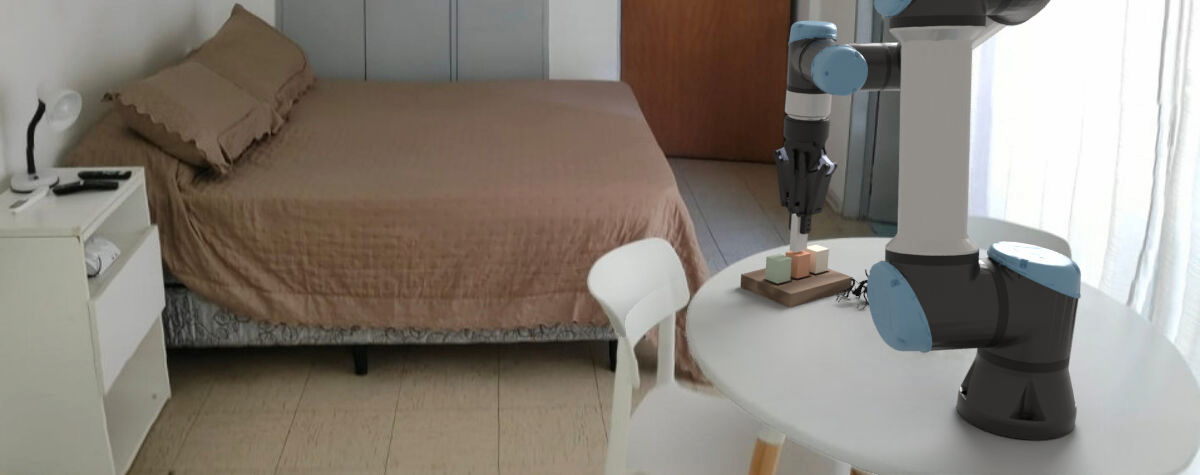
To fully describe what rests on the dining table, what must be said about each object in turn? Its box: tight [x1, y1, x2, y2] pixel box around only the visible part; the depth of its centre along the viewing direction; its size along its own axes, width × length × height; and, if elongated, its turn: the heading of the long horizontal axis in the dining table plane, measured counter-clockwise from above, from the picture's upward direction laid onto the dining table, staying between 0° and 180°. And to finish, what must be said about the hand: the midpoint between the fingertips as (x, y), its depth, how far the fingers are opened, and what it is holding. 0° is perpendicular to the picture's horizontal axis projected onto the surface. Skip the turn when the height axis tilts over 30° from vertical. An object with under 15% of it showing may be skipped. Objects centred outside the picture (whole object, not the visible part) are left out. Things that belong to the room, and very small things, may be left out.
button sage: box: [765, 253, 792, 284], centre depth 203 cm, size 3×3×4 cm
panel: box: [740, 267, 853, 308], centre depth 206 cm, size 12×15×2 cm
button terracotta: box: [784, 250, 811, 279], centre depth 205 cm, size 3×3×4 cm
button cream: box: [804, 244, 830, 274], centre depth 208 cm, size 3×3×4 cm
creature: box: [835, 268, 869, 311], centre depth 200 cm, size 8×5×8 cm
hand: (798, 249), depth 205 cm, fingers closed
